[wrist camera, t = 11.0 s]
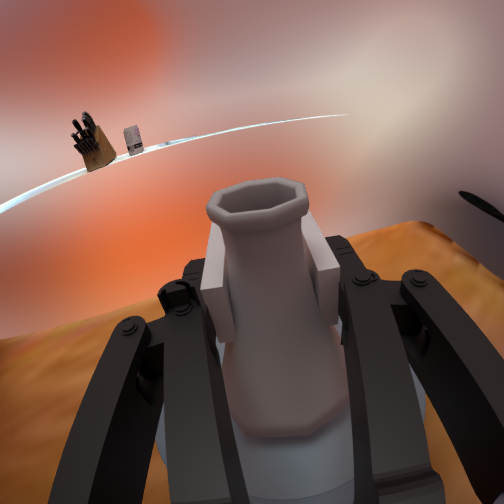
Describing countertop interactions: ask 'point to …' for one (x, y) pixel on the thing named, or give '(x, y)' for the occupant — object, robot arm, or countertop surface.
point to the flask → (275, 315)
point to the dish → (297, 459)
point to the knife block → (92, 144)
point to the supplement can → (133, 140)
